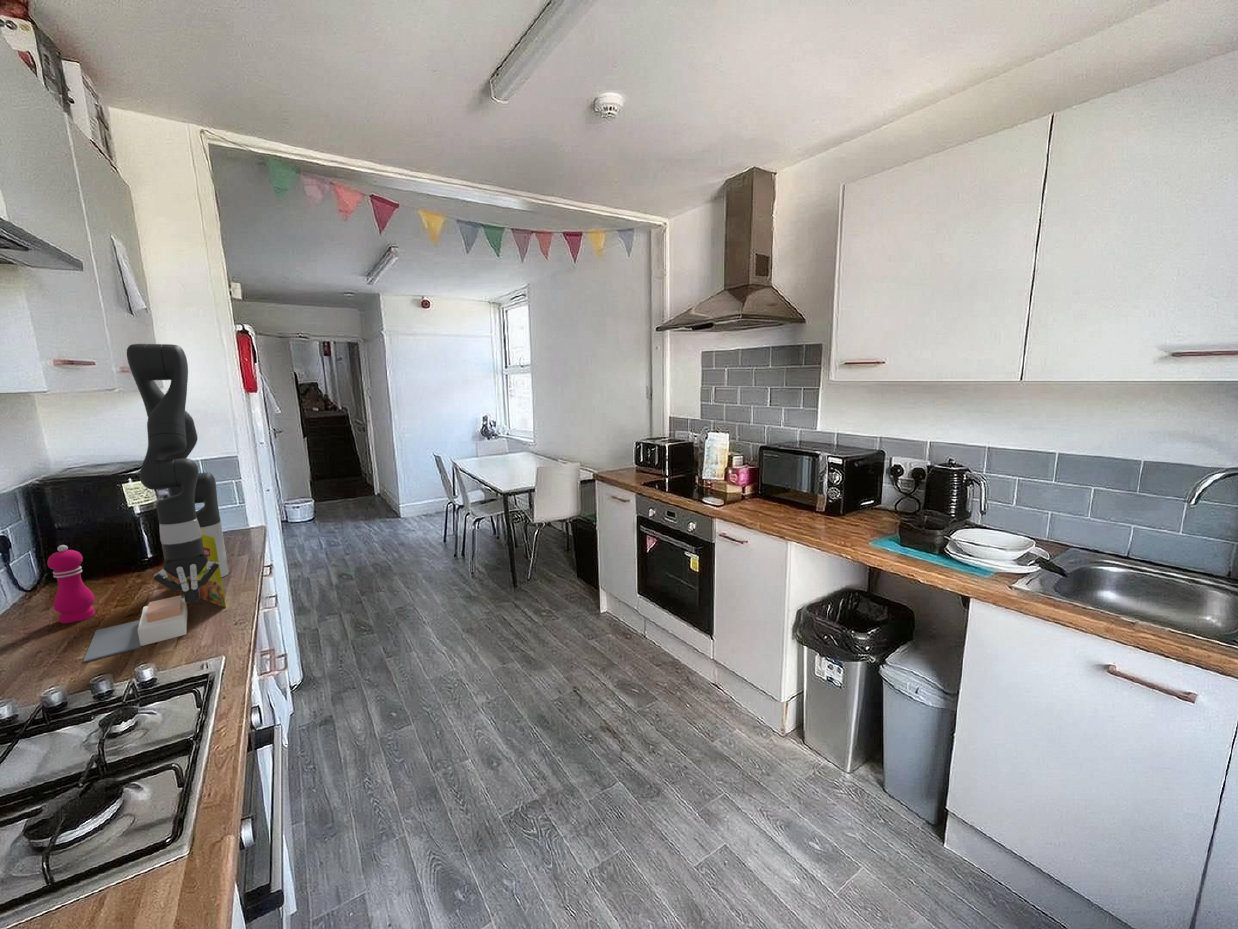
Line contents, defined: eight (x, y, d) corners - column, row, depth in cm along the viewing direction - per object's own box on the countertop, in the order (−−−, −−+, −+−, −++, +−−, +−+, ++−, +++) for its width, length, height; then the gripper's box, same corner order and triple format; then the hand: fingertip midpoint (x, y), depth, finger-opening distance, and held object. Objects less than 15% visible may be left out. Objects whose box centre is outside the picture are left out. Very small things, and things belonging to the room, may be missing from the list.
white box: (146, 621, 125) (143, 606, 125) (187, 611, 130) (185, 597, 130) (140, 646, 113) (137, 630, 113) (186, 634, 118) (183, 619, 118)
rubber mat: (96, 631, 120) (96, 630, 120) (146, 619, 126) (146, 618, 126) (83, 662, 107) (83, 661, 107) (140, 648, 112) (139, 646, 112)
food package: (196, 597, 139) (184, 530, 135) (201, 596, 140) (189, 529, 136) (223, 608, 132) (212, 538, 128) (228, 606, 133) (217, 536, 129)
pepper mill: (104, 613, 130) (89, 541, 127) (68, 626, 123) (51, 551, 120) (86, 610, 132) (71, 539, 129) (50, 622, 125) (32, 548, 122)
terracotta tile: (150, 609, 123) (149, 602, 123) (182, 602, 127) (180, 595, 126) (147, 622, 116) (146, 614, 116) (181, 614, 120) (179, 607, 120)
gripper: (215, 529, 129) (225, 590, 132) (146, 540, 120) (158, 606, 123) (216, 535, 123) (226, 599, 126) (144, 548, 115) (157, 616, 118)
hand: (193, 602), depth 125 cm, fingers closed
